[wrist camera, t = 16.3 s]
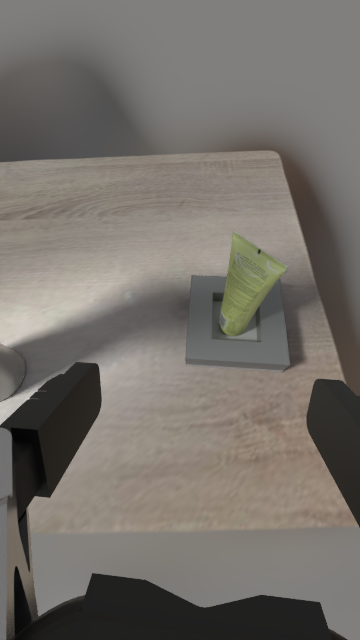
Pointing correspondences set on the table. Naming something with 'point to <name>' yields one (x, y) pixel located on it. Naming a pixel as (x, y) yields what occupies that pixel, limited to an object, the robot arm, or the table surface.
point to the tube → (246, 283)
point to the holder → (242, 350)
